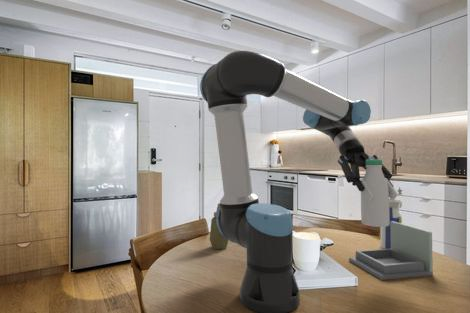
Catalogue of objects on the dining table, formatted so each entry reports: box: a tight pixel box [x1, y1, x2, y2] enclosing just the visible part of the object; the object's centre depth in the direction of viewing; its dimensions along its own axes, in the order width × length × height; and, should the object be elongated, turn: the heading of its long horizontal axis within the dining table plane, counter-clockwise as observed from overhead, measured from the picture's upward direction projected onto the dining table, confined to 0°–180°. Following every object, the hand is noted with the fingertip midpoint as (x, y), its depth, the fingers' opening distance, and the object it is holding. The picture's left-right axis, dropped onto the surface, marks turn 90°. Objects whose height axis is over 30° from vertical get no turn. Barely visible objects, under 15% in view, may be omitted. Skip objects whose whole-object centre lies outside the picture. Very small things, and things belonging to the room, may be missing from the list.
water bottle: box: [380, 187, 403, 249], centre depth 111 cm, size 8×9×25 cm
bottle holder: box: [348, 221, 434, 281], centre depth 90 cm, size 18×16×13 cm
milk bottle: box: [360, 158, 390, 228], centre depth 84 cm, size 8×8×20 cm
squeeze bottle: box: [209, 202, 230, 250], centre depth 112 cm, size 8×8×18 cm
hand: (382, 198), depth 80 cm, fingers closed on milk bottle, 7 cm apart
